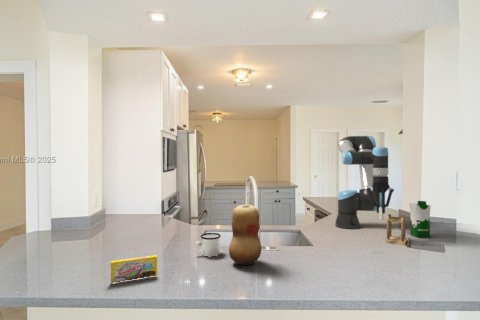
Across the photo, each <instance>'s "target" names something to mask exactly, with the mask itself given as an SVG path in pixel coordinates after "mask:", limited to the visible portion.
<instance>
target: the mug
mask: <svg viewBox="0 0 480 320" xmlns="http://www.w3.org/2000/svg"><path fill="white" fill-rule="evenodd" d="M200 239H201V240H199V241H196V242H195V244H194V249H195V252H196V253H201V256H202V257H204V256H216V255H218V254H219V253H221V252H220V250H221V249H220V248H221V247H220V241H221V240H220V239H221V233H218V232H206V233H202V234H201V235H200ZM197 243H198V244H199V243H201V249H200V250H197ZM219 255H220V254H219ZM219 255H218V256H219ZM216 257H217V256H216Z"/></svg>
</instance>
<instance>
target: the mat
mask: <svg viewBox="0 0 480 320" xmlns="http://www.w3.org/2000/svg"><path fill="white" fill-rule="evenodd" d="M410 240H411V239H410ZM409 249H417V250H424V251H431V252H436V253H437V252H439V253H443V254H444V253H446V252H445V245H444V244H443V243H442V244H441V243H434V242H427V241H420V240H413V239H412V240H411V241H410V244H409Z"/></svg>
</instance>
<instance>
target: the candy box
mask: <svg viewBox="0 0 480 320" xmlns="http://www.w3.org/2000/svg"><path fill="white" fill-rule="evenodd" d="M157 262H158V256H157V254H154V255H146V256H140V257H139V256H138V257H131V258H124V259H117V260H111V261H110V284H111V283H113V282H120V281H125V280H132V279H137V278H144V277H150V276H156V275H157V276H158V263H157Z"/></svg>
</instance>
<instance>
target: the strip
mask: <svg viewBox="0 0 480 320" xmlns="http://www.w3.org/2000/svg"><path fill="white" fill-rule="evenodd" d="M410 244H411V237H409V238H408V239H407V242H406V248H410Z"/></svg>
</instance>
